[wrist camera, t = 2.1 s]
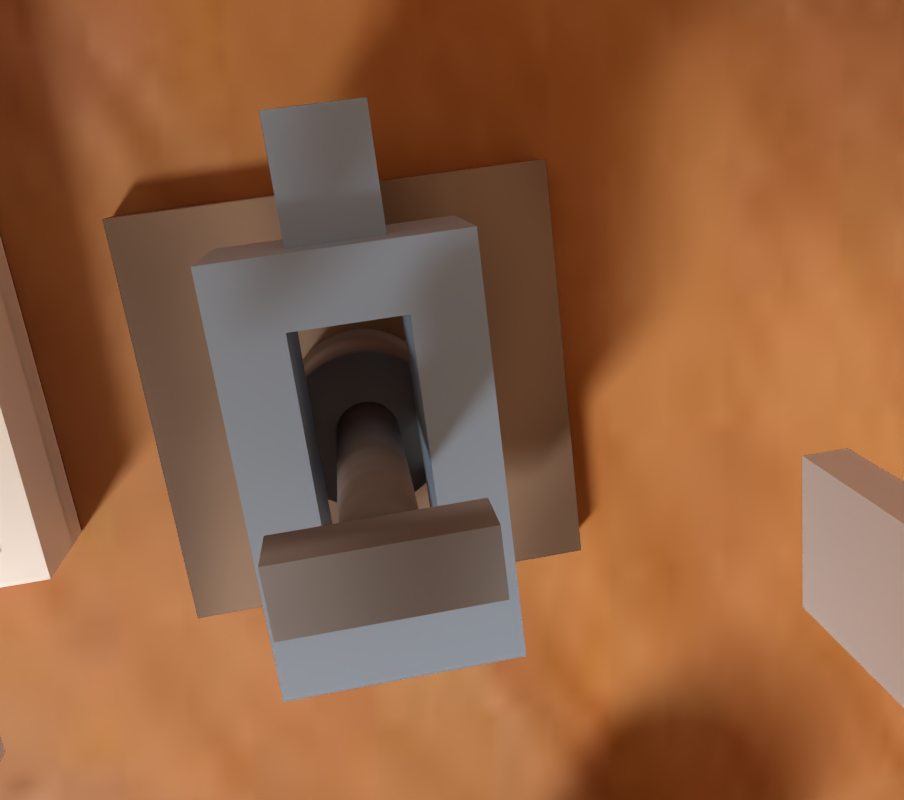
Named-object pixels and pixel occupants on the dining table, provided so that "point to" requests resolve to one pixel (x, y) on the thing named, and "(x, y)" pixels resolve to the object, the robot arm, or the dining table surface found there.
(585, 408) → the dining table surface
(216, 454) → the lever on base
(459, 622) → the grey slotted block
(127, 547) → the dining table surface
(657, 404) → the dining table surface
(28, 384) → the tray
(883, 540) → the robot arm
